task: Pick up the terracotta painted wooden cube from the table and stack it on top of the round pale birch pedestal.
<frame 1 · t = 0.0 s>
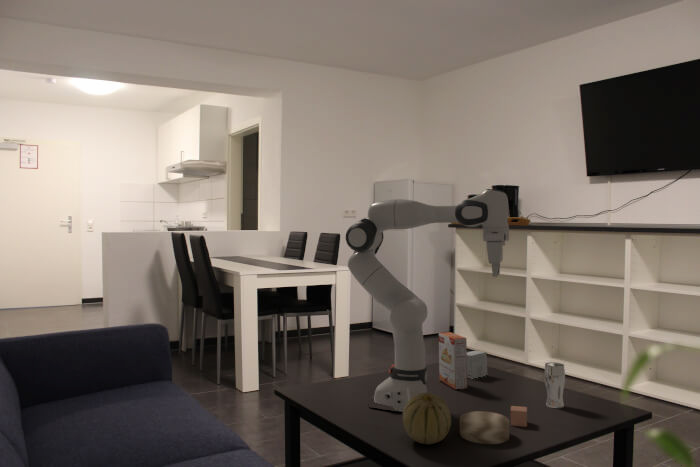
hand: (496, 275, 193), 48 cm above the table, tool pointing down, fingers open, 8 cm apart
terracotta cube: (518, 423, 183), on the table
birch pedestal: (484, 435, 173), on the table
skincare box: (474, 377, 244), on the table
cracker box: (452, 385, 230), on the table
cantaloupe: (426, 443, 168), on the table
beer glass: (555, 406, 201), on the table
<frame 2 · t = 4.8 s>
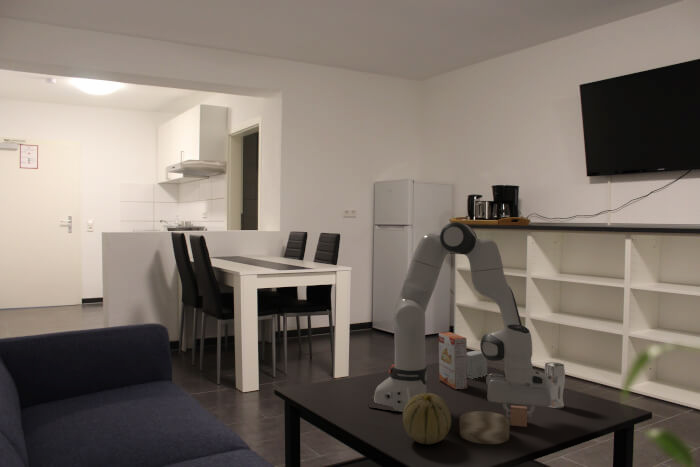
hand: (518, 417, 183), 2 cm above the table, tool pointing down, fingers closed on terracotta cube, 5 cm apart
terracotta cube: (518, 423, 183), on the table, touching gripper
everything else where it was.
when the fingers open (9 cm above the table, at t = 11.6 s): terracotta cube drops 1 cm, resting on birch pedestal.
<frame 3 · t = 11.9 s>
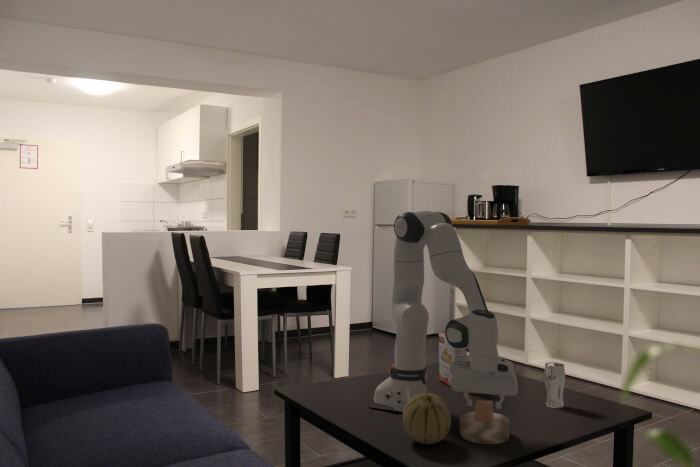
hand: (484, 407, 173), 9 cm above the table, tool pointing down, fingers open, 7 cm apart
terracotta cube: (484, 418, 173), point 5 cm above the table, touching birch pedestal
everything else where it was.
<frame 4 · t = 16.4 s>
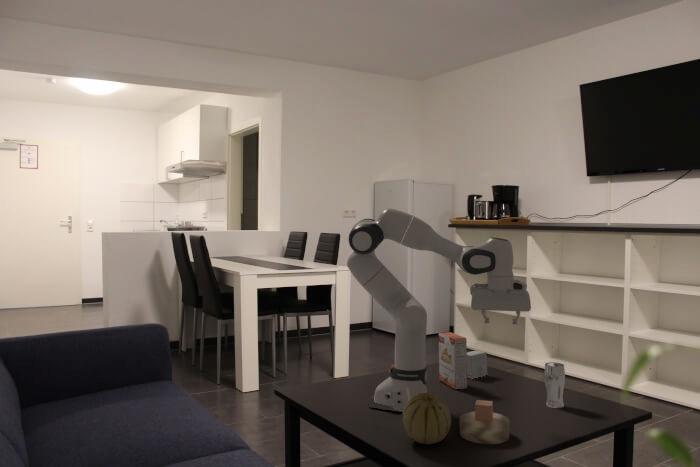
hand: (500, 323, 195), 31 cm above the table, tool pointing down, fingers open, 8 cm apart
nothing on the table moved.
at the end: terracotta cube inside the target area on the birch pedestal (0.1 cm from its centre), point 5.0 cm above the birch pedestal's base; terracotta cube tilted 0°; the gripper is holding nothing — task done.
